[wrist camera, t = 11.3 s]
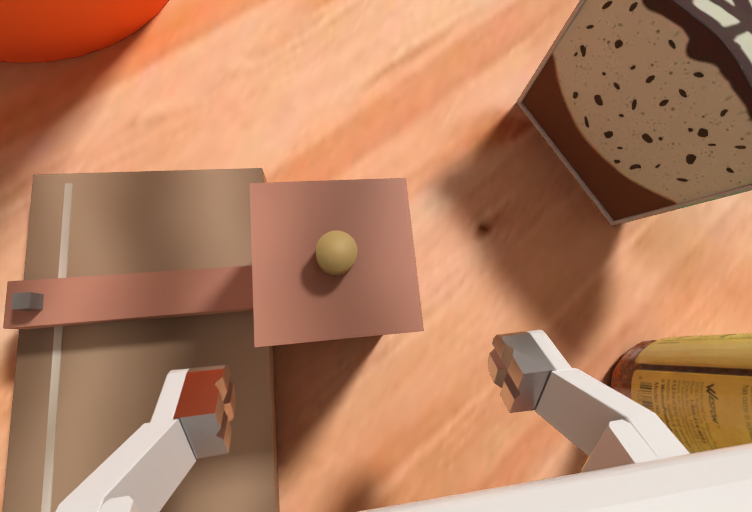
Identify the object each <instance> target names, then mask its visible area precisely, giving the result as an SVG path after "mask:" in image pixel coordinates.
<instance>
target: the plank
mask: <svg viewBox="0 0 752 512" xmlns="http://www.w3.org/2000/svg"><path fill="white" fill-rule="evenodd" d="M250 183H266V178H265V175H264V172H263V169H262V168H251V169H216V170H180V171H145V172H110V173H75V174H39V175H33V184H32V195H31V206H30V217H29V228H28V239H27V250H26V261H25V272H24V280H39V279H55V278H70V277H85V276H100V275H115V274H131V273H146V272H161V271H176V270H191V269H207V268H222V267H237V266H252V248H251V216H250ZM221 365H228V367H229V370H230V379H229V381H230V382H232V383H233V384H234V388H235V395H236V407H235V415H234V417H233V419H232V420H231V421H230V426H231V429H232V434H231V441H230V447H229V453H228V454H222V455H216V456H210V457H205V458H199V459H196V462H195V463H194V465H193V466H192V467H191V469H190V470H189V472H188V473H187V474H186V476H185V477H184V478H183V480H182V481H181V483H180V484H179V485H178V487H177V488H176V490H175V491H174V492H173V494H172V495H171V496H170V498H169V499H168V501H167V502H166V503H165V505H164V506H163V507H162V509H161V510H160V512H280V511H279V486H278V461H277V436H276V411H275V386H274V360H273V346H264V347H255V346H254V313H253V310H252V311H240V312H228V313H216V314H204V315H192V316H180V317H168V318H156V319H144V320H132V321H120V322H108V323H96V324H84V325H72V326H60V327H48V328H36V329H19V338H18V349H17V360H16V371H15V382H14V393H13V404H12V415H11V426H10V437H9V448H8V459H7V470H6V481H5V492H4V503H3V512H56V510H57V508H58V506H59V504H60V503H61V502H62V501H63V500H64V499H65V498H66V497H67V496H68V495H69V494H71V493H72V492H73V491H74V490H75V489H76V488H77V487H78V486H79V485H80V484H81V483H82V482H83V481H84V480H85V479H86V478H87V477H88V476H89V475H90V474H92V473H93V472H94V471H95V470H96V469H97V468H98V467H99V466H100V465H101V464H102V463H103V462H104V461H105V460H106V459H107V458H108V457H109V456H110V455H112V454H113V453H114V452H115V451H116V450H117V449H118V448H119V447H120V446H121V445H122V444H123V443H124V442H125V441H126V440H127V439H128V438H129V437H130V436H131V435H133V434H134V433H135V432H136V431H137V430H138V429H139V428H140V427H141V426H142V425H143V424H144V423H150V421H151V418H152V416H153V413H154V410H155V407H156V404H157V401H158V399H159V396H160V393H161V390H162V387H163V384H164V382H165V379H166V376H167V374H168V373H169V372H170V371H171V370H178V369H189V368H198V367H210V366H221Z"/></svg>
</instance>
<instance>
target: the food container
mask: <svg viewBox="0 0 752 512" xmlns="http://www.w3.org/2000/svg"><path fill="white" fill-rule="evenodd" d="M516 103H517V105H518V106H519V107H520V108H521V110H522V111H523V112H524V114H525V115H526V116H527V117H528V119H529V120H530V121H531V123H532V124H533V125H534V126H535V128H536V129H537V130H538V132H539V133H540V134H541V135H542V137H543V138H544V139H545V141H546V142H547V143H548V145H549V146H550V147H551V148H552V150H553V151H554V152H555V154H556V155H557V156H558V157H559V159H560V160H561V161H562V163H563V164H564V165H565V166H566V168H567V169H568V170H569V172H570V173H571V174H572V175H573V177H574V178H575V179H576V181H577V182H578V183H579V185H580V186H581V187H582V188H583V190H584V191H585V192H586V194H587V195H588V196H589V197H590V199H591V200H592V201H593V203H594V204H595V205H596V206H597V208H598V209H599V210H600V212H601V213H602V214H603V216H604V217H605V218H606V219H607V221H608V222H609V223H610V225H611V226H614V225H618V224H622V223H626V222H630V221H633V220H637V219H641V218H645V217H649V216H653V215H657V214H661V213H665V212H668V211H672V210H676V209H680V208H684V207H688V206H692V205H696V204H700V203H703V202H707V201H711V200H715V199H719V198H723V197H727V196H731V195H735V194H738V193H742V192H746V191H750V190H752V0H580V1H579V3H578V4H577V6H576V8H575V9H574V11H573V12H572V14H571V16H570V17H569V19H568V20H567V22H566V24H565V25H564V27H563V28H562V30H561V32H560V33H559V35H558V36H557V38H556V40H555V41H554V43H553V44H552V46H551V48H550V49H549V51H548V52H547V54H546V56H545V57H544V59H543V60H542V62H541V64H540V65H539V67H538V68H537V70H536V72H535V73H534V75H533V76H532V78H531V80H530V81H529V83H528V84H527V86H526V88H525V89H524V91H523V92H522V94H521V96H520V97H519V99H518V100H517V102H516Z"/></svg>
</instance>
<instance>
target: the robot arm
mask: <svg viewBox="0 0 752 512" xmlns="http://www.w3.org/2000/svg"><path fill="white" fill-rule="evenodd" d="M492 344H493V346H494V348H495V349H494V350H493V351H491V352H490V353H489V358H488V369H489V372H490V376H491V378H492V380H493V382H494V383H495V384H496V385H498V386H499V387H501V388H502V389H501V393H500V396H501V397H502V399H503V401H504V403H505V405H506V407H507V409H508V411H509V413H514V412H523V411H532V410H536V411H535V412H536V413H538V414H539V415H540V416H541V417H542V418H544V419H545V420H546V421H547V422H548V423H550V424H551V425H552V426H553V427H554V428H556V429H557V430H558V431H559V432H560V433H562V434H563V435H564V436H565V437H566V438H568V439H569V440H570V441H571V442H572V443H573V444H575V445H576V446H577V447H578V448H579V449H581V450H582V451H583V452H584V453H585V454H587V455H588V456H589V457H588V459H587V461H586V462H585V464H584V466H583V467H582V470H581V473H576V474H571V475H565V476H559V477H553V478H548V479H542V480H536V481H531V482H525V483H519V484H513V485H508V486H502V487H496V488H490V489H485V490H479V491H473V492H467V493H462V494H456V495H450V496H444V497H439V498H433V499H427V500H421V501H416V502H410V503H404V504H398V505H393V506H387V507H381V508H375V509H370V510H364V511H358V512H752V443H748V444H742V445H737V446H731V447H725V448H720V449H714V450H708V451H703V452H697V453H691V454H690V453H689V452H688V451H687V449H686V448H685V447H684V446H683V445H682V444H681V442H680V441H679V440H678V439H677V438H676V437H675V435H674V434H673V433H672V432H671V431H670V430H669V429H668V427H667V426H666V425H665V424H664V423H663V422H662V420H661V419H660V418H659V417H658V416H657V415H656V414H655V413H654V412H652V411H650V410H649V409H647V408H645V407H643V406H642V405H640V404H638V403H636V402H635V401H633V400H631V399H629V398H628V397H626V396H624V395H622V394H621V393H619V392H617V391H616V390H614V389H612V388H610V387H609V386H607V385H605V384H603V383H602V382H600V381H598V380H596V379H595V378H593V377H591V376H589V375H588V374H586V373H584V372H583V371H581V370H579V369H577V368H571V366H570V365H569V364H568V362H567V361H566V360H565V358H564V357H563V356H562V354H561V353H560V352H559V350H558V349H557V348H556V346H555V345H554V344H553V342H552V341H551V340H550V338H549V337H548V336H547V335H546V333H545V332H544V331H542V330H534V331H526V332H516V333H508V334H499V335H496V336H495V337H494V339H493V342H492ZM229 379H230V370H229V367H228V365H221V366H210V367H198V368H189V369H178V370H171V371H170V372H169V373H168V374H167V376H166V379H165V382H164V384H163V387H162V390H161V393H160V396H159V399H158V401H157V404H156V407H155V410H154V413H153V416H152V418H151V421H150V423H144V424H143V425H142V426H141V427H140V428H139V429H138V430H137V431H136V432H135V433H134V434H133V435H131V436H130V437H129V438H128V439H127V440H126V441H125V442H124V443H123V444H122V445H121V446H120V447H119V448H118V449H117V450H116V451H115V452H114V453H113V454H112V455H110V456H109V457H108V458H107V459H106V460H105V461H104V462H103V463H102V464H101V465H100V466H99V467H98V468H97V469H96V470H95V471H94V472H93V473H92V474H90V475H89V476H88V477H87V478H86V479H85V480H84V481H83V482H82V483H81V484H80V485H79V486H78V487H77V488H76V489H75V490H74V491H73V492H72V493H71V494H69V495H68V496H67V497H66V498H65V499H64V500H63V501H62V502H61V503H60V504H59V506H58V508H57V510H56V512H160V510H161V509H162V507H163V506H164V505H165V503H166V502H167V501H168V499H169V498H170V496H171V495H172V494H173V492H174V491H175V490H176V488H177V487H178V485H179V484H180V483H181V481H182V480H183V478H184V477H185V476H186V474H187V473H188V472H189V470H190V469H191V467H192V466H193V465H194V463H195V462H196V459H199V458H205V457H210V456H216V455H222V454H228V453H229V447H230V441H231V434H232V429H231V426H230V421H231V420H232V419H233V417H234V415H235V407H236V395H235V388H234V384H233V383H232V382H230V381H229Z"/></svg>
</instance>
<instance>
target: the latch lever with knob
mask: <svg viewBox="0 0 752 512" xmlns="http://www.w3.org/2000/svg"><path fill="white" fill-rule="evenodd" d="M250 216H251V248H252V266H237V267H222V268H207V269H191V270H176V271H161V272H146V273H131V274H115V275H100V276H85V277H70V278H55V279H39V280H24V281H9V282H8V284H7V294H6V304H5V314H4V325H3V328H5V329H36V328H48V327H60V326H72V325H84V324H96V323H108V322H120V321H132V320H144V319H156V318H168V317H180V316H192V315H204V314H216V313H228V312H240V311H252V310H253V313H254V346H255V347H264V346H274V345H284V344H295V343H305V342H315V341H325V340H336V339H346V338H356V337H367V336H377V335H387V334H397V333H408V332H418V331H424V328H423V320H422V311H421V303H420V294H419V286H418V277H417V269H416V260H415V252H414V243H413V235H412V226H411V218H410V209H409V201H408V192H407V184H406V178H391V179H361V180H332V181H302V182H273V183H250Z"/></svg>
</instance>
